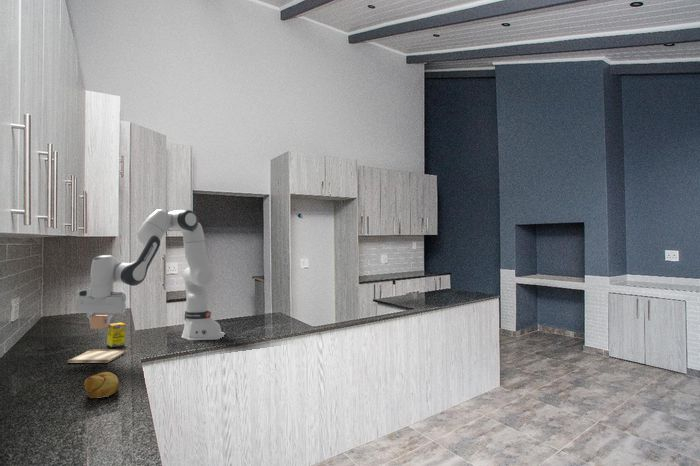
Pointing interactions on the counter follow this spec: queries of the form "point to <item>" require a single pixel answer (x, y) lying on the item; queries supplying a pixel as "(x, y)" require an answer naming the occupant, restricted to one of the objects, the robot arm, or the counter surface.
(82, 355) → the board
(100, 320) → the cube
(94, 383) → the bread roll
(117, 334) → the supplement box
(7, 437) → the counter surface
